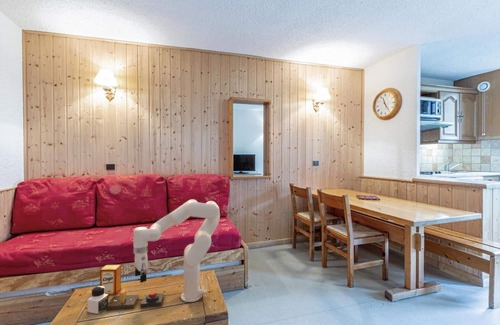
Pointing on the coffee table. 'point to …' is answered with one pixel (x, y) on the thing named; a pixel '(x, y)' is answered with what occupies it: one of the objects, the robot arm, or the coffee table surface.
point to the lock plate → (127, 304)
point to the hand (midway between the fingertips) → (140, 278)
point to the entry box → (152, 300)
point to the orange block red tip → (123, 296)
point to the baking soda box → (111, 279)
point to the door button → (152, 294)
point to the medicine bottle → (98, 300)
